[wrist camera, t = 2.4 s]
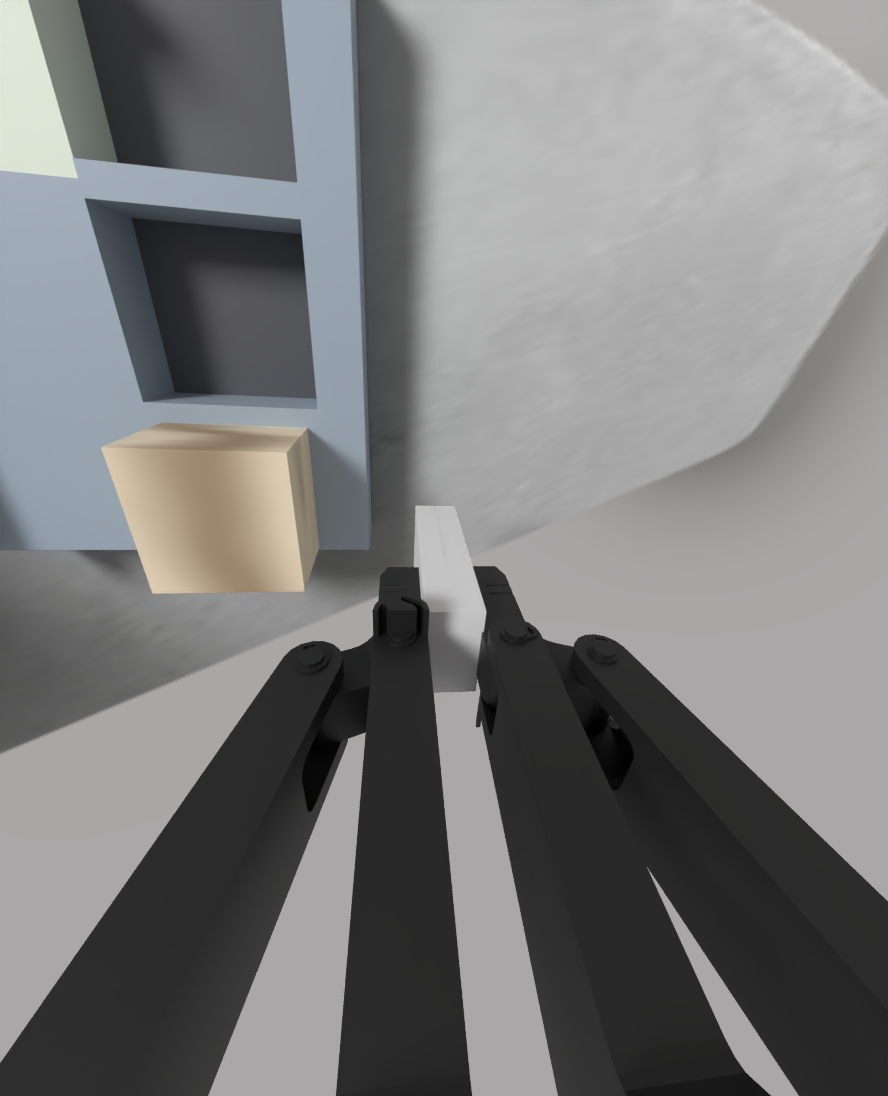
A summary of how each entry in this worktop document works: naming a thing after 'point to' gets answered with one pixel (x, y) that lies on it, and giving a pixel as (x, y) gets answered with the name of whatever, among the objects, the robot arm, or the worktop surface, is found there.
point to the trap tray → (177, 248)
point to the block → (218, 506)
